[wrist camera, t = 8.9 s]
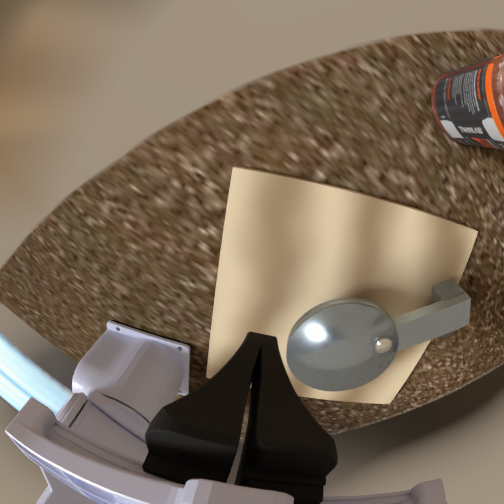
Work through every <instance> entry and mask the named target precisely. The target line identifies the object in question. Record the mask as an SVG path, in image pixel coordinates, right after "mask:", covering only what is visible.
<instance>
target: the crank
mask: <svg viewBox="0 0 504 504" xmlns="http://www.w3.org/2000/svg"><path fill="white" fill-rule="evenodd" d="M470 305H471V298H470V296H469V295H468V294H467V293H466V292H465V291H464V290H463V289H462V288H461V287H460V286H459V285H458V284H457V283H456V282H455V280H454V279H453V278H451V279H449V280H446V281H443V282H441V283H438V284H435V285H432V304H431V305H428V306H425V307H422V308H419V309H417V310H414V311H411V312H408V313H405V314H402V315H399V316H396V317H392V318H391V316H390V315H389V313H388V312H387V311H386V310H385V309H384V308H383V307H382V306H380V305H378V304H377V303H375V302H373V301H370V300H367V299H363V298H356V297H346V298H338V299H333V300H329V301H326V302H324V303H321V304H319V305H317V306H315V307H313V308H312V309H310V310H309V311H307V312H306V313H305V314H303V315H302V316H301V317H300V318H299V319H298V320H297V322H296V323H295V324H294V326H293V327H292V329H291V331H290V333H289V336H288V340H287V352H286V358H287V364H288V367H289V369H290V371H291V373H292V374H293V375H294V376H295V377H296V378H297V379H298V380H299V381H300V382H302V383H303V384H305V385H307V386H309V387H311V388H314V389H317V390H322V391H331V392H334V391H346V390H351V389H354V388H358V387H360V386H363V385H365V384H367V383H369V382H371V381H373V380H374V379H376V378H377V377H378V376H380V375H381V374H382V373H383V372H384V371H385V370H386V369H387V368H388V367H389V366H390V364H391V363H392V361H393V360H394V358H395V356H396V353H397V351H400V350H403V349H406V348H409V347H412V346H415V345H418V344H421V343H423V342H426V341H429V340H431V339H434V338H437V337H439V336H442V335H444V334H447V333H449V332H452V331H454V330H457V329H459V328H462V327H464V326H466V325H468V324H469V318H470Z"/></svg>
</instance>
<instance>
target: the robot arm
mask: <svg viewBox="0 0 504 504" xmlns="http://www.w3.org/2000/svg"><path fill="white" fill-rule="evenodd" d="M119 328H120V329H119ZM180 347H181V348H180ZM189 372H190V347H189V346H188V345H186V344H183V343H179V342H176V341H172V340H169V339H166V338H162V337H159V336H156V335H152V334H149V333H146V332H143V331H140V330H137V329H134V328H131V327H128V326H125V325H122V324H119V323H116V322H113V321H108V322H107V330H106V331H105V332H104V334H103V335H102V336H101V337H100V338H99V339H98V341H97V342H96V343H95V344H94V345H93V346H92V348H91V349H90V350H89V351H88V352H87V353H86V355H85V356H84V357H83V358H82V359H81V361H80V362H79V364H78V366H77V368H76V370H75V373H74V376H73V381H72V390H73V394H72V395H71V397H70V398H69V399H68V400H67V401H66V403H65V404H64V405H63V407H62V408H61V409H60V410H59V412H58V413H57V414H56V416H55V415H54V413H53V412H52V411H51V410H50V409H49V408H48V407H46V406H45V405H43V404H41V403H40V402H38V401H37V400H35V399H34V398H32V397H31V398H30V399H29V400H28V401H27V403H26V404H25V405H24V406H23V408H22V409H21V410H20V411H19V413H18V414H17V415H16V417H15V418H14V419H13V420H12V422H11V423H10V424H9V426H8V427H7V428H6V430H5V432H6V433H7V435H8V436H9V437H10V438H11V439H12V440H13V442H14V443H15V444H16V445H17V446H18V447H19V448H20V450H21V451H22V452H23V453H24V454H25V455H26V456H27V457H28V458H29V459H31V460H32V461H33V462H35V463H36V464H38V465H39V466H40V468H41V470H42V472H43V474H44V476H45V478H46V480H47V482H48V484H49V485H48V487H47V488H46V489H45V491H44V493H43V494H42V496H41V497H40V498H39V500H38V501H37V503H36V504H447V501H446V497H445V492H444V487H443V483H442V480H441V479H435V480H430V481H426V482H422V483H419V484H417V485H416V486H414V487H413V488H412V489H411V490H407V491H400V492H392V493H385V494H375V495H362V496H343V497H342V496H340V497H339V496H337V497H323V486H324V485H325V484H326V476H327V475H328V474H329V472H331V471H332V470H333V469H334V468H335V466H336V465H337V460H338V456H337V450H336V446H335V442H334V439H333V438H332V437H331V436H330V435H329V434H328V433H327V432H326V431H325V430H324V429H323V428H322V427H321V426H320V425H319V424H318V423H317V422H316V421H315V419H314V418H313V417H312V416H311V414H310V413H309V412H308V410H307V409H306V407H305V406H304V405H303V403H302V402H301V400H300V398H299V397H298V395H297V393H296V391H295V390H294V388H293V386H292V384H291V381H290V379H289V377H288V375H287V372H286V369H285V367H284V364H283V361H282V358H281V354H280V351H279V346H278V341H277V338H276V336H271V335H266V334H261V333H256V332H251V331H250V332H248V333H247V335H246V337H245V339H244V341H243V343H242V344H241V346H240V347H239V349H238V350H237V351H236V353H235V354H234V355H233V356H232V358H231V359H230V360H229V361H228V362H227V363H226V364H225V365H224V366H223V367H222V368H221V369H220V370H219V371H218V372H217V373H216V374H215V375H214V376H213V377H212V378H210V379H209V380H208V381H207V382H205V383H204V384H203V385H201V386H200V387H199V388H197V389H196V390H194V391H192V392H191V393H189ZM251 382H252V384H251ZM250 385H251V395H250V407H249V418H248V425H247V430H246V435H245V440H244V445H243V449H242V454H241V458H240V463H239V467H238V471H237V476H236V480H235V484H234V485H232V484H227V483H226V482H227V479H228V476H229V474H230V471H231V468H232V465H233V461H234V459H235V455H236V452H237V449H238V444H239V440H240V434H241V428H242V422H243V416H244V411H245V405H246V399H247V395H248V392H249V389H250ZM177 393H178V394H181V395H185V396H184V397H182V398H180V399H178V400H176V401H174V400H175V397H176V395H177ZM188 393H189V394H188Z"/></svg>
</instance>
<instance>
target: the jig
mask: <svg viewBox="0 0 504 504" xmlns="http://www.w3.org/2000/svg"><path fill="white" fill-rule="evenodd" d="M477 233H478V231H476V230H475V229H473V228H472V227H469V226H467V225H464V224H461V223H458V222H455V221H453V220H450V219H447V218H444V217H441V216H438V215H435V214H432V213H429V212H426V211H423V210H420V209H417V208H414V207H410V206H407V205H404V204H400V203H397V202H394V201H390V200H387V199H383V198H380V197H376V196H372V195H369V194H365V193H361V192H358V191H354V190H350V189H346V188H342V187H338V186H334V185H329V184H325V183H321V182H316V181H312V180H308V179H303V178H298V177H294V176H289V175H284V174H279V173H274V172H268V171H263V170H258V169H252V168H246V167H240V166H235V167H233V170H232V177H231V183H230V190H229V196H228V203H227V210H226V217H225V224H224V231H223V238H222V245H221V253H220V260H219V268H218V276H217V284H216V292H215V300H214V308H213V317H212V326H211V335H210V344H209V353H208V363H207V373H206V378H212V377H213V376H214V375H215V374H216V373H217V372H218V371H219V370H220V369H221V368H222V367H223V366H224V365H225V364H226V363H227V362H228V361H229V360H230V359H231V358H232V356H233V355H234V354H235V353H236V351H237V350H238V349H239V347H240V346H241V344H242V343H243V341H244V339H245V337H246V335H247V333H248V332H250V331H251V332H256V333H261V334H266V335H271V336H276V338H277V341H278V346H279V351H280V354H281V358H282V361H283V364H284V367H285V369H286V372H287V375H288V377H289V379H290V381H291V384H292V386H293V388H294V390H295V391H296V393H297V395H298V396H301V397H309V398H317V399H325V400H335V401H346V402H360V403H378V404H390V403H391V401H392V400H393V399H394V397H395V396H396V394H397V393H398V391H399V390H400V389H401V387H402V386H403V384H404V383H405V381H406V380H407V378H408V377H409V375H410V374H411V372H412V371H413V369H414V367H415V366H416V364H417V363H418V361H419V359H420V358H421V356H422V354H423V353H424V351H425V349H426V348H427V346H428V344H429V342H430V341H431V340H429V341H426V342H423V343H421V344H418V345H415V346H412V347H409V348H406V349H403V350H400V351H397V353H396V356H395V358H394V360H393V361H392V363H391V364H390V366H389V367H388V368H387V369H386V370H385V371H384V372H383V373H382V374H381V375H380V376H378V377H377V378H376V379H374V380H373V381H371V382H369V383H367V384H365V385H363V386H360V387H358V388H354V389H351V390H346V391H334V392H331V391H322V390H317V389H314V388H311V387H309V386H307V385H305V384H303V383H302V382H300V381H299V380H298V379H297V378H296V377H295V376H294V375H293V374H292V373H291V371H290V369H289V367H288V364H287V358H286V352H287V340H288V336H289V333H290V331H291V329H292V327H293V326H294V324H295V323H296V322H297V320H298V319H299V318H300V317H301V316H302V315H303V314H305V313H306V312H307V311H309V310H310V309H312V308H313V307H315V306H317V305H319V304H321V303H324V302H326V301H329V300H333V299H338V298H346V297H356V298H363V299H367V300H370V301H373V302H375V303H377V304H378V305H380V306H382V307H383V308H384V309H385V310H386V311H387V312H388V313H389V315H390V316H391V318H392V317H396V316H399V315H402V314H405V313H408V312H411V311H414V310H417V309H419V308H422V307H425V306H428V305H431V304H432V285H435V284H438V283H441V282H443V281H446V280H449V279H451V278H453V279H454V280H455V282H456V283H457V284H459V282H460V279H461V277H462V274H463V272H464V269H465V267H466V264H467V262H468V259H469V256H470V254H471V251H472V248H473V245H474V242H475V240H476V237H477ZM455 331H456V330H454V331H452V332H449V333H447V334H444V335H442V336H440V337H442V338H448V337H450V336H451V335H453V334H454V332H455ZM251 384H252V382H251ZM250 388H251V385H250Z"/></svg>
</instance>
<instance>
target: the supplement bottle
mask: <svg viewBox="0 0 504 504" xmlns="http://www.w3.org/2000/svg"><path fill="white" fill-rule="evenodd" d="M431 106H432V110H433V114H434V116H435V119H436V121H437V123H438V125H439V126H440V128H441V129H442V131H443V132H444V133H445V134H446V135H447V136H448V137H449V138H450V139H451V140H453V141H455V142H457V143H460V144H463V145H467V146H475V147H483V148H492V149H498V150H499V149H500V150H504V55H501V56H497V57H493V58H490V59H487V60H483V61H480V62H477V63H474V64H471V65H468V66H464V67H462V68H459V69H456V70H453V71H451V72H448V73H446V74H444V75H442V76H441V77H439V78H438V79H437V81H436V82H435V83H434V85H433V88H432V93H431Z"/></svg>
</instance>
